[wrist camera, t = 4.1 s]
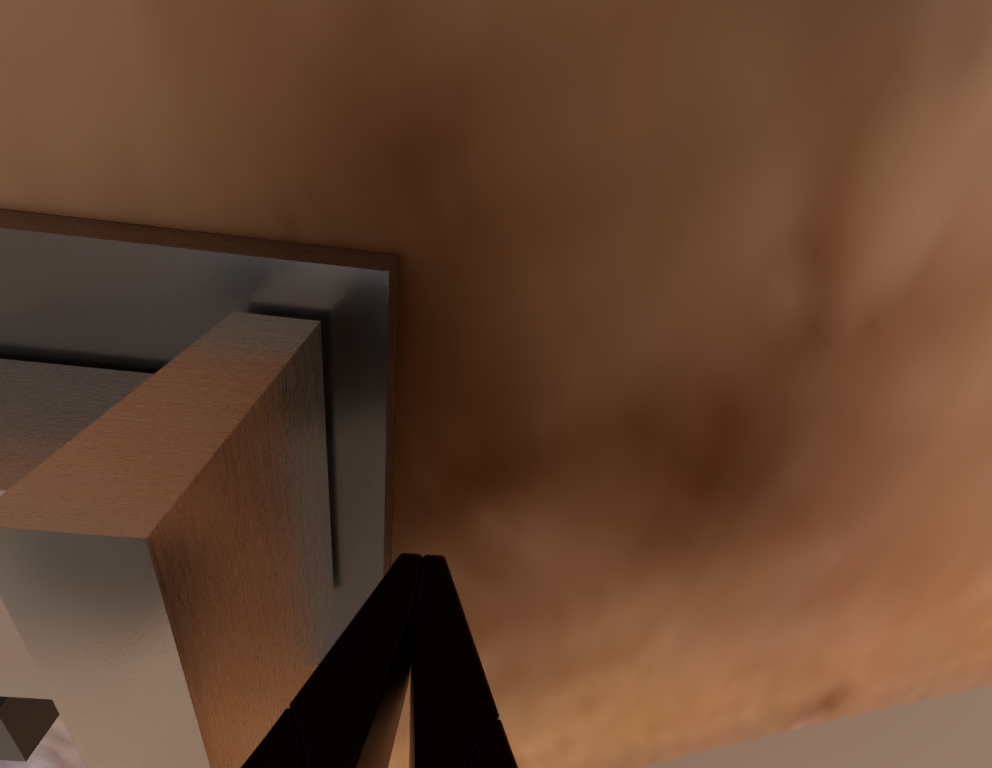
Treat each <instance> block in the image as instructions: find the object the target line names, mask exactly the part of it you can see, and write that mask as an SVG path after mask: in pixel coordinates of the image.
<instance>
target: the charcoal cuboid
mask: <svg viewBox="0 0 992 768" xmlns="http://www.w3.org/2000/svg"><path fill="white" fill-rule="evenodd" d="M59 715H60V714H59V712H58V710H57V708H56V706H55V704H54V702H53V700H52V699H36V698H20V697H3V696H0V760H10V761H27V759H28V758H29V757H30V755H31V754H32V752H33V751H34V750H35V748H36V747H37V745H38V744H39V743H40V741H41V740H42V738H43V737H44V736H45V734H46V733H47V731H48V730H49V729H50V727H51V726H52V724H53V723H54V722H55V720H56V719H57V717H58V716H59Z"/></svg>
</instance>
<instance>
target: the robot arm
mask: <svg viewBox="0 0 992 768" xmlns="http://www.w3.org/2000/svg"><path fill="white" fill-rule="evenodd" d="M410 671H411V684H410V754H409V768H518V766H517V763H516V761H515V758H514V755H513V753H512V750H511V747H510V745H509V742H508V739H507V736H506V733H505V730H504V727H503V725H502V722H501V720H499V714H498V711H497V708H496V705H495V702H494V699H493V696H492V693H491V690H490V687H489V684H488V681H487V678H486V675H485V672H484V670H483V667H482V664H481V661H480V658H479V655H478V652H477V649H476V646H475V643H474V640H473V637H472V634H471V631H470V628H469V626H468V623H467V620H466V617H465V614H464V611H463V608H462V605H461V602H460V599H459V596H458V593H457V590H456V587H455V584H454V582H453V579H452V576H451V573H450V570H449V567H448V564H447V561H446V559H445V557H444V556H441V555H425V556H424V557H422V555H421V554H413V553H402V554H401V555H400V556H399V557H398V558H397V559H396V561H395V562H394V563H393V565H392V566H391V568H390V569H389V570H388V572H387V573H386V574H385V576H384V577H383V578H382V580H381V581H380V582H379V584H378V585H377V586H376V588H375V589H374V591H373V592H372V593H371V595H370V596H369V597H368V599H367V600H366V601H365V603H364V604H363V605H362V607H361V608H360V609H359V611H358V612H357V613H356V615H355V616H354V618H353V619H352V620H351V622H350V623H349V624H348V626H347V627H346V628H345V630H344V631H343V632H342V634H341V635H340V636H339V638H338V639H337V641H336V642H335V643H334V645H333V646H332V647H331V649H330V650H329V651H328V653H327V654H326V655H325V657H324V658H323V659H322V661H321V662H320V664H319V665H318V666H317V668H316V669H315V670H314V672H313V673H312V674H311V676H310V677H309V678H308V680H307V681H306V682H305V684H304V685H303V686H302V688H301V689H300V691H299V692H298V693H297V695H296V696H295V697H294V699H293V700H292V701H291V703H290V705H289V707H290V708H286V709H285V710H284V712H283V713H282V715H281V716H280V717H279V719H278V720H277V721H276V723H275V724H274V725H273V727H272V728H271V729H270V731H269V732H268V733H267V735H266V736H265V737H264V738H263V740H262V741H261V742H260V744H259V745H258V746H257V747H256V749H255V750H254V751H253V752H252V754H251V755H250V756H249V758H248V759H247V760H246V761H245V763H244V764H243V765H242V766H241V767H240V768H388V765H389V761H390V757H391V752H392V748H393V744H394V740H395V736H396V732H397V728H398V724H399V720H400V716H401V711H402V707H403V703H404V699H405V695H406V691H407V686H408V682H409V677H410Z"/></svg>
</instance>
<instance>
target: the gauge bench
mask: <svg viewBox="0 0 992 768" xmlns="http://www.w3.org/2000/svg"><path fill="white" fill-rule="evenodd" d="M398 283H399V255H396V254H387V253H379V252H370V251H361V250H352V249H344V248H335V247H326V246H317V245H309V244H300V243H291V242H283V241H274V240H265V239H256V238H248V237H239V236H230V235H221V234H213V233H204V232H195V231H187V230H178V229H169V228H160V227H152V226H143V225H134V224H125V223H117V222H108V221H99V220H91V219H82V218H73V217H64V216H56V215H47V214H38V213H29V212H21V211H12V210H3V209H0V359H8V360H19V361H29V362H39V363H49V364H59V365H70V366H80V367H90V368H100V369H110V370H121V371H131V372H141V373H151V374H155V373H156V372H157V371H159V370H160V369H161V368H163V367H164V366H165V365H166V364H168V363H169V362H170V361H171V360H173V359H174V358H175V357H176V356H178V355H179V354H180V353H181V352H183V351H184V350H185V349H187V348H188V347H189V346H190V345H192V344H193V343H194V342H195V341H197V340H198V339H199V338H200V337H202V336H203V335H204V334H205V333H207V332H208V331H209V330H211V329H212V328H213V327H214V326H216V325H217V324H218V323H219V322H221V321H222V320H223V319H224V318H226V317H227V316H228V315H230V314H231V313H232V312H241V313H250V314H260V315H269V316H279V317H288V318H297V319H307V320H316V321H321V341H322V361H323V382H324V402H325V423H326V444H327V464H328V485H329V506H330V526H331V547H332V567H333V588H334V609H333V613H332V616H331V619H330V622H329V625H328V628H327V631H326V635H325V638H324V641H323V644H322V647H321V650H320V654H319V657H318V660H317V663H316V664H317V665H319V664H320V662H321V661H322V659H323V658H324V657H325V655H326V654H327V653H328V651H329V650H330V649H331V647H332V646H333V645H334V643H335V642H336V641H337V639H338V638H339V636H340V635H341V634H342V632H343V631H344V630H345V628H346V627H347V626H348V624H349V623H350V622H351V620H352V619H353V618H354V616H355V615H356V613H357V612H358V611H359V609H360V608H361V607H362V605H363V604H364V603H365V601H366V600H367V599H368V597H369V596H370V595H371V593H372V592H373V591H374V589H375V588H376V586H377V585H378V584H379V582H380V581H381V580H382V578H383V577H384V576H385V574H386V573H387V572H388V570H389V569H390V568H391V537H392V500H393V464H394V428H395V392H396V355H397V319H398Z"/></svg>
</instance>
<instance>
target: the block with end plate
mask: <svg viewBox="0 0 992 768" xmlns="http://www.w3.org/2000/svg"><path fill="white" fill-rule="evenodd" d="M333 609H334V588H333V567H332V547H331V526H330V506H329V485H328V464H327V444H326V423H325V402H324V382H323V361H322V341H321V321H316V320H307V319H297V318H288V317H279V316H269V315H260V314H250V313H241V312H232V313H231V314H230V315H228V316H227V317H226V318H224V319H223V320H222V321H221V322H219V323H218V324H217V325H216V326H214V327H213V328H212V329H211V330H209V331H208V332H207V333H205V334H204V335H203V336H202V337H200V338H199V339H198V340H197V341H195V342H194V343H193V344H192V345H190V346H189V347H188V348H187V349H185V350H184V351H183V352H181V353H180V354H179V355H178V356H176V357H175V358H174V359H173V360H171V361H170V362H169V363H168V364H166V365H165V366H164V367H163V368H161V369H160V370H159V371H157V372H156V373H155V374H151V373H141V372H131V371H121V370H110V369H100V368H90V367H80V366H70V365H59V364H49V363H39V362H29V361H19V360H8V359H0V696H3V697H20V698H36V699H52V700H53V702H54V704H55V706H56V708H57V710H58V712H59V714H60V716H61V718H62V720H63V722H64V724H65V726H66V728H67V730H68V732H69V734H70V736H71V738H72V740H73V742H74V744H75V746H76V748H77V750H78V752H79V754H80V756H81V758H82V760H83V762H84V764H85V766H86V768H240V767H241V766H242V765H243V764H244V763H245V761H246V760H247V759H248V758H249V756H250V755H251V754H252V752H253V751H254V750H255V749H256V747H257V746H258V745H259V744H260V742H261V741H262V740H263V738H264V737H265V736H266V735H267V733H268V732H269V731H270V729H271V728H272V727H273V725H274V724H275V723H276V721H277V720H278V719H279V717H280V716H281V715H282V713H283V712H284V710H285V709H286V708H290V707H289V705H290V703H291V701H292V700H293V699H294V697H295V696H296V695H297V693H298V692H299V691H300V689H301V688H302V686H303V685H304V684H305V682H306V681H307V680H308V678H309V677H310V676H311V674H312V673H313V672H314V669H315V666H316V663H317V660H318V657H319V654H320V650H321V647H322V644H323V641H324V638H325V635H326V631H327V628H328V625H329V622H330V619H331V616H332V613H333Z"/></svg>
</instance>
